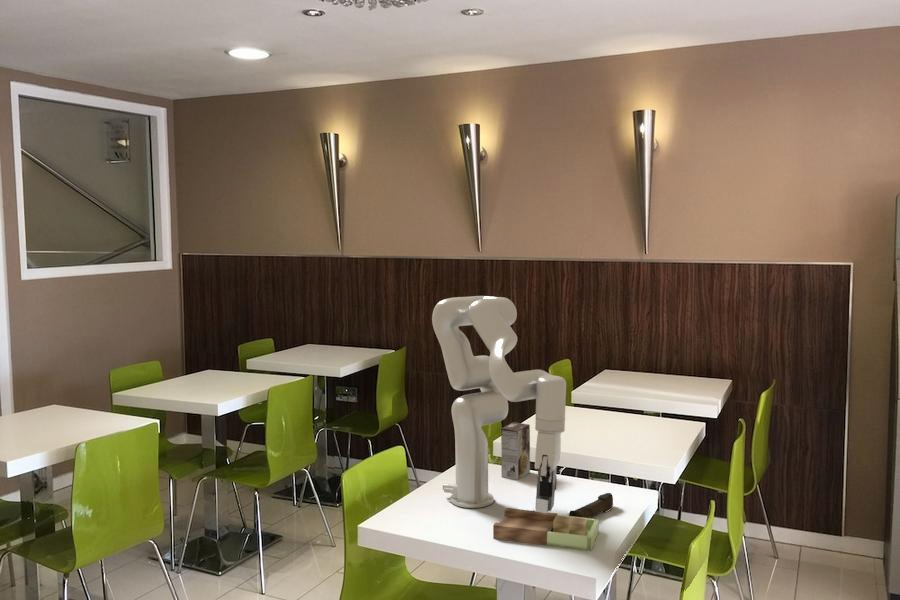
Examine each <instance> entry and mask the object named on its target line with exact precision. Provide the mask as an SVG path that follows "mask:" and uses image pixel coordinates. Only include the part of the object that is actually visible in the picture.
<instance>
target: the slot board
mask: <svg viewBox="0 0 900 600" xmlns="http://www.w3.org/2000/svg"><path fill="white" fill-rule="evenodd" d="M557 515H558V513H556V512H548V513H547V514H546V513H541V512H536V510H530V509H519V508H512V507H506V508H505V509H504V516H502V518H501V520H499V522H497V521H496V522H494V523H493V525H492V527H493V528H492V530H493V533H492V534H493V535H492V536H493V539H495V540H496V539H497V540H505V541H511V542H513V541H514V542H519V541H520V542H521V543H527V544H529V543H530V544H537V545H543V546H544V545H545V546H548V545H547V532H548V531H550V532H553V521H554V519H555V517H556V516H557Z"/></svg>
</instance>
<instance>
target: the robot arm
mask: <svg viewBox="0 0 900 600" xmlns="http://www.w3.org/2000/svg"><path fill="white" fill-rule="evenodd" d="M517 315H518V312H517V308H516V305H515V304H514V303H513V301H512V300H511V299H509V298H507V297H504V296H503V297H502V296H499V297H498V296H488V295H474V296H457V297H456V296H455V297H449V298H445V299H442V300H440V301H439V302H437V304H436V305H435V306H434V308H433V311H432V315H431V316H432V317H431V320H432V321H431V323H432V327H433V330H434V333H435V335H436V338H437V341H438V343H439V345H440V348H441V352H442V356H443V361H444V365H445V369H446V372H447V377H448V380H449V385H451V387H452V389H454V390H455V391H470V390H476V389H480V392H475V393H468V394H464V395H461V396H459V397H457V398H456V399H455V400H453V403H452V405H451V410H450V411H451V417H452V422H453V427H454V429H453V430H454V439H455V441H454V442H455V443H454V444H455V446H454V447H455V483H453V484H450V483H443V484H442V490H443V492H444V493H447V494H448V493H450V494H451V495H450V503H451V504H453V505H455V506H457V507H460V508H467V509H478V508H479V509H480V508H484V507H488V506H490V505H492V504H493V502H494V495H493V494H491V493H490V492H489V443H488V442H489V441H488V438H487V436H486V434H485V432H484V431H483V428H482V427H483V426H486V425H487V426H488V425H492V424H496V423H500V422H502V421H504V420H505V419H507V416H508V413H509V402H511V403H513V402H514V403H518V402H523V401H529V400H535V420H534V421H535V427H534V429H535V431H537V436H536V444H535V456H534V457H535V458H534V459H535V460H534V469H535V470H537V471H538V469H539V468H540V466H541V476H540V496H545V497H552V491H553V482H552V471H553V470H554V469H555V468H556V466H557V467H558V465H559V462H560V460H561V449H562V448H561V446H562V442H561V441H562V440H561V439H562V433H564V432H565V430H566V404H567V403H566V401H567V399H566V398H567V381H566V379H565V378H564V377H562V376H561V375H560V376H559V375H554V374H553V375H552V374H550V373H549V372H547V371H545V370H543V369H531V370H522V371H516V372H513V370H512V368H511V367H510V366H509V365H508V363H507V361H506V358H505V356H506V355H507V354H509V353H510V352H511V351H512V350H513V349H514V348H515V347H516V345H517V342H518V336H517V334H516V333H515V331H514V329H513V328H512V327H511V325H513V324H514V323H516V320H517ZM464 326H465V327H466V326H473V328H474V329H475V331H476V332H477V334H478V335H479V338H481V340H482V341H483V343H484V345H485V346H486V348H487V349H488V350H489V353H490V354H489V356H488V355H484V354H483V355H482V354H481V355H476V356H475V355H474V354H473V351H472V347H471V343H470V341H469V338H468V337H467V336H466V334H465V333H464V332H463V331H462V330H460V328H459V327H464ZM508 401H509V402H508ZM547 467H549V468H550V469H547ZM547 472H549V474H547ZM556 478H557V475H556ZM556 490H557V482H556V483H555V491H556Z"/></svg>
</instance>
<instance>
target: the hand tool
mask: <svg viewBox="0 0 900 600" xmlns="http://www.w3.org/2000/svg"><path fill="white" fill-rule="evenodd" d="M613 506H614V496H613V494H612V493H611V492H606V493H603V494H600V495H598V497H597V499H596V500H594V501H592V502H590V503H588V504H586V505H584V506H582V507H579V508H577V509H575V510H569V513H568V516H573V517H582V518H592V517H595V516H597V515H598V514H600V513H607V512H609V511H610V510H611V509H612V508H613ZM609 509H610V510H609ZM608 510H609V511H608ZM606 511H607V512H606Z"/></svg>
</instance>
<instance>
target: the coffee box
mask: <svg viewBox="0 0 900 600" xmlns="http://www.w3.org/2000/svg"><path fill="white" fill-rule="evenodd" d="M530 428H531V427H530V424H528V423H522V422H516V421H513V422H511V423H508V424H507V425H506V426H504V427H501V430H500V432H501V436H500V437H501V438H500V439H501V441H500V442H501V443H500V444H501V446H500V447H501V455H500V456H501V459H500V461H501V464H500V466H501V477H502V478H504V479H505V478H506V479H511V480H520V479H521V478H523V477H525V476H526V475H528V474H530V472H531V439H530V438H531V437H530V436H531V435H530V434H531V433H530V432H531V430H530Z"/></svg>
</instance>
